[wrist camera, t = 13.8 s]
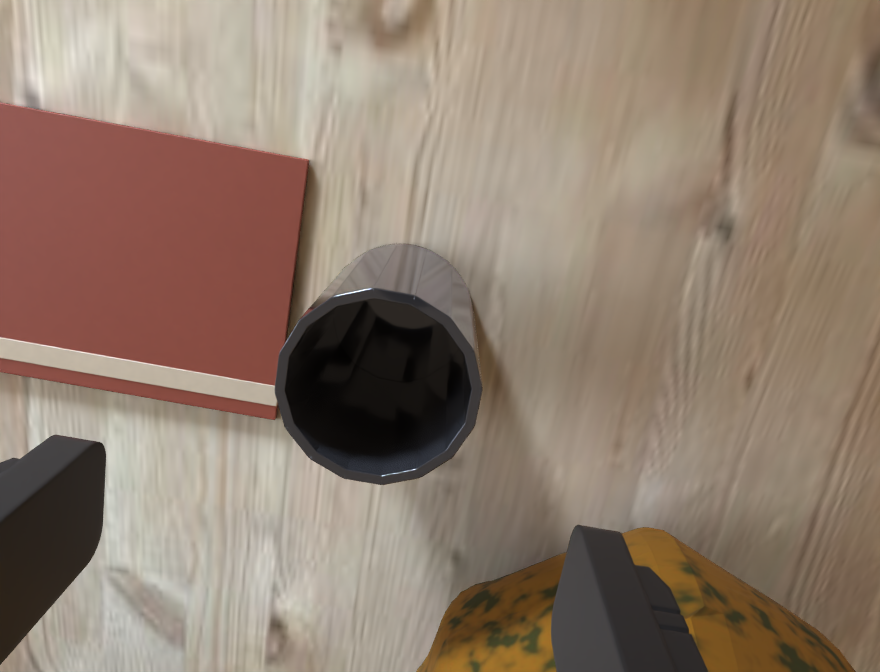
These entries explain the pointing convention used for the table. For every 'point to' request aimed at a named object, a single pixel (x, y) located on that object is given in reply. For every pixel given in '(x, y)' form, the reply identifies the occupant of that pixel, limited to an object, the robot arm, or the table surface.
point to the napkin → (145, 260)
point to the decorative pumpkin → (696, 592)
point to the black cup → (383, 368)
